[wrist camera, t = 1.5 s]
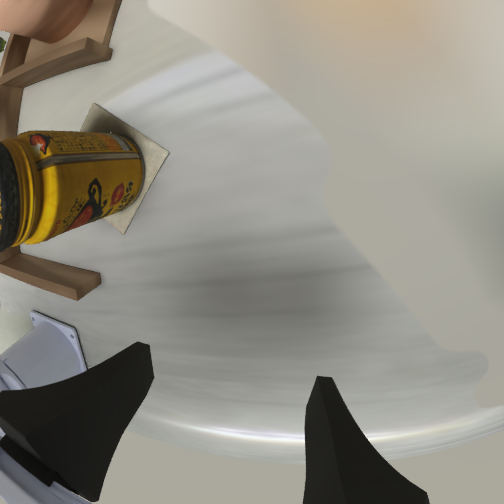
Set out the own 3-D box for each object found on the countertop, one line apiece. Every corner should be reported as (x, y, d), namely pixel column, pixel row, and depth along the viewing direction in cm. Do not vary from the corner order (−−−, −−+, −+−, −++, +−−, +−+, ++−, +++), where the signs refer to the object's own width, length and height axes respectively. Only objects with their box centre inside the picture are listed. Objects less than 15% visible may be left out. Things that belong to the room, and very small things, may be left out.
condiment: (124, 234, 20) (6, 301, 9) (60, 179, 19) (-53, 206, 8) (170, 152, 18) (34, 153, 6) (95, 103, 17) (-28, 86, 6)
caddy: (101, 283, 22) (25, 341, 12) (17, 260, 23) (-45, 293, 14) (148, -52, 11) (100, -101, 2) (51, -12, 13) (-2, -33, 3)
